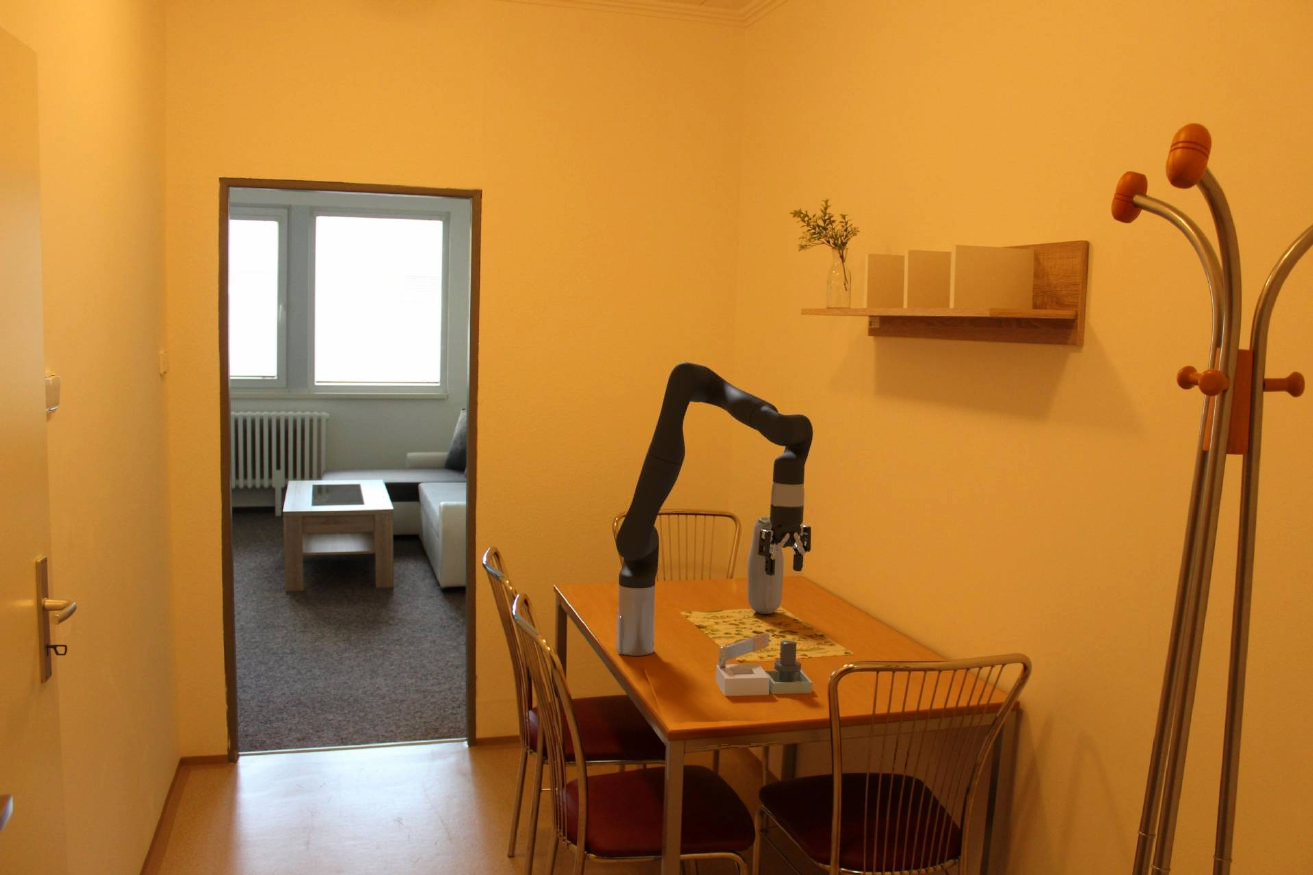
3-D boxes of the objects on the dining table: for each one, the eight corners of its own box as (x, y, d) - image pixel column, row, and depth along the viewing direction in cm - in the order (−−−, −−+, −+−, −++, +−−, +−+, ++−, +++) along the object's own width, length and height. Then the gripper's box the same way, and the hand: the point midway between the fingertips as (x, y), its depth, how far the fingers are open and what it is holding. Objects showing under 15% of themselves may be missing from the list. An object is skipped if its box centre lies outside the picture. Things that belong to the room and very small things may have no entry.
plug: (777, 690, 239) (778, 646, 238) (771, 681, 244) (772, 639, 244) (803, 689, 239) (805, 646, 239) (796, 680, 245) (797, 638, 244)
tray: (772, 694, 237) (773, 683, 237) (763, 681, 246) (763, 670, 246) (812, 693, 238) (812, 682, 238) (801, 680, 247) (801, 669, 247)
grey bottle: (787, 615, 309) (790, 520, 306) (756, 618, 305) (759, 521, 302) (771, 607, 318) (774, 514, 315) (740, 610, 314) (743, 516, 311)
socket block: (724, 696, 235) (725, 678, 235) (715, 681, 245) (716, 664, 244) (768, 695, 236) (769, 677, 236) (758, 680, 246) (758, 663, 246)
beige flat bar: (723, 668, 241) (723, 648, 241) (717, 667, 242) (718, 647, 242) (769, 652, 254) (769, 633, 254) (763, 651, 256) (764, 632, 255)
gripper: (798, 498, 249) (794, 566, 250) (752, 502, 240) (749, 572, 242) (821, 503, 243) (817, 572, 245) (775, 507, 234) (772, 579, 236)
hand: (783, 572), depth 243 cm, fingers open, 8 cm apart
